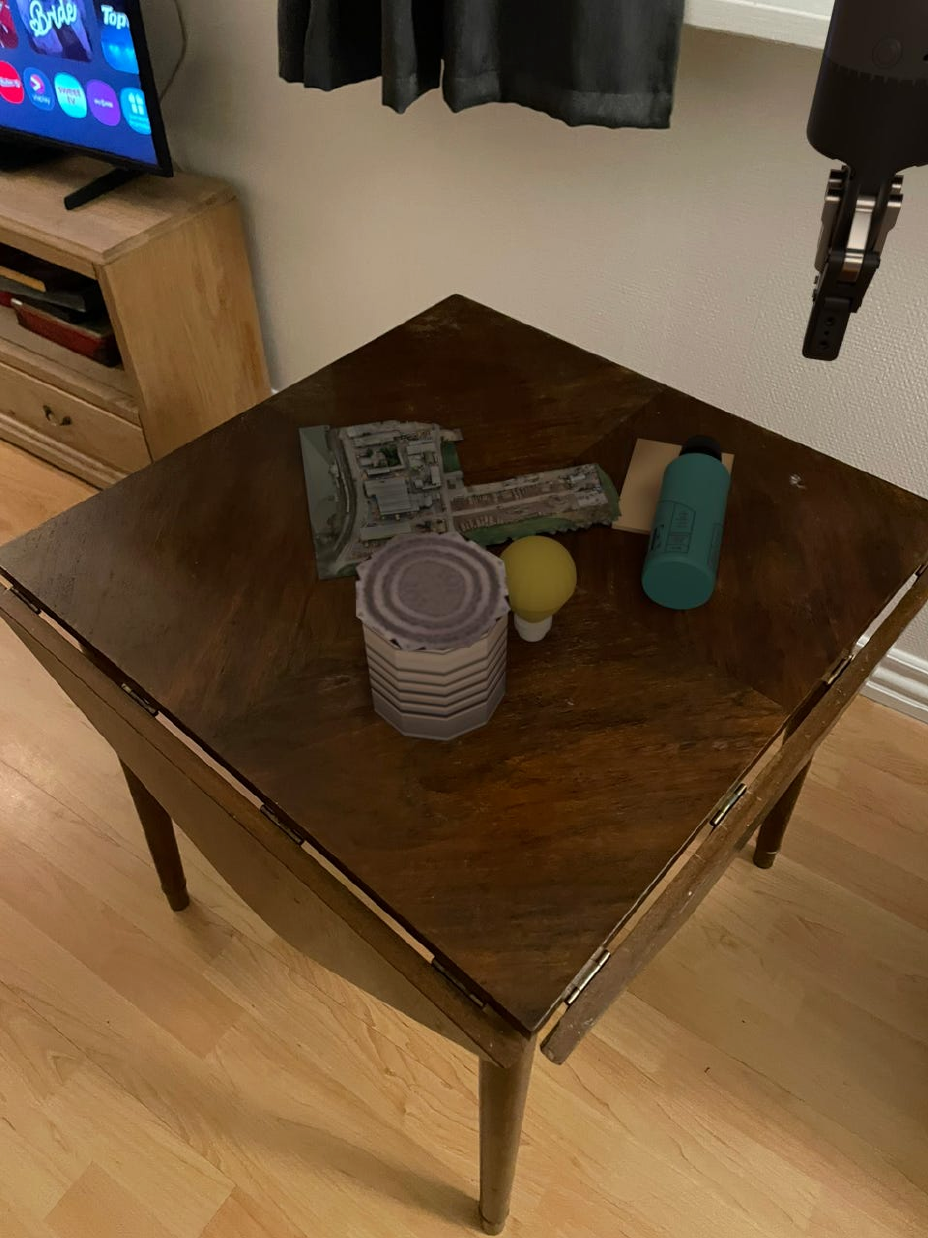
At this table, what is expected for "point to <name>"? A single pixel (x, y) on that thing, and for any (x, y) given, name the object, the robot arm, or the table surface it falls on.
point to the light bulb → (537, 583)
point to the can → (434, 632)
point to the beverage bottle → (687, 527)
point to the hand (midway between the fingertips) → (819, 353)
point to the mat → (647, 484)
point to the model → (430, 493)
